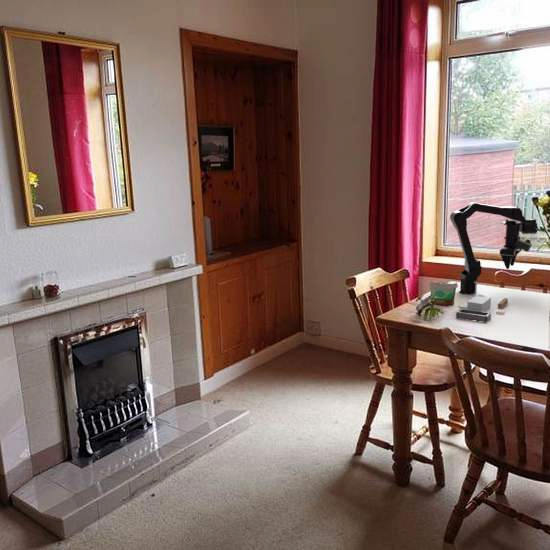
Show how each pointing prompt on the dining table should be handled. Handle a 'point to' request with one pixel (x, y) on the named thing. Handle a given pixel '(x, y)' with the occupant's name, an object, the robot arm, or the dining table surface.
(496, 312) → the tiles
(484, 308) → the block
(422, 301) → the green spiky leafy piece
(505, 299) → the lane
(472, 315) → the tray
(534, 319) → the dining table surface
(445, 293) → the food container
